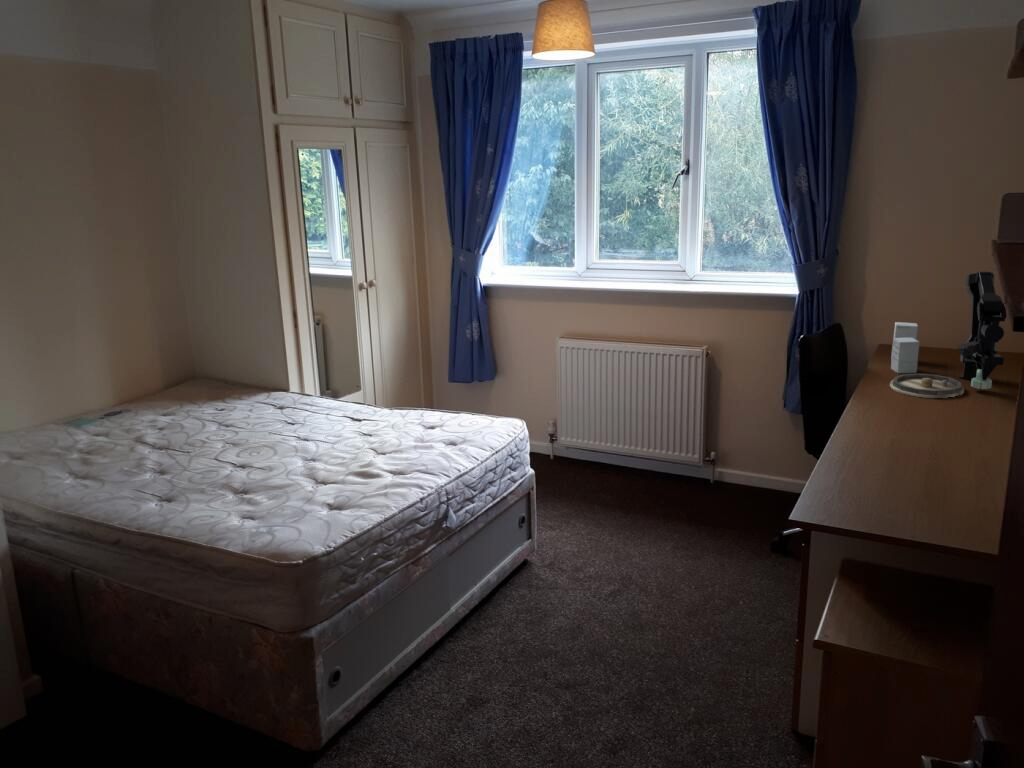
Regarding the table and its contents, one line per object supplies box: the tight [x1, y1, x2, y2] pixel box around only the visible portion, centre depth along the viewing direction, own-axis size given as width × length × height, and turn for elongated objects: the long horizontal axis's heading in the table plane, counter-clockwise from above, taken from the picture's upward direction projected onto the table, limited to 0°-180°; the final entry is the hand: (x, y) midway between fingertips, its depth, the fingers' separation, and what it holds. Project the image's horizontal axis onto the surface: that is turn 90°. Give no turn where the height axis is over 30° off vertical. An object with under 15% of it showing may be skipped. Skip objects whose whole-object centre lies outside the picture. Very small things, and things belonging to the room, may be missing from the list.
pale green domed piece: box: [970, 369, 993, 390], centre depth 280 cm, size 6×6×6 cm
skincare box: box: [890, 321, 919, 361], centre depth 321 cm, size 8×7×16 cm
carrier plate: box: [889, 373, 965, 399], centre depth 287 cm, size 24×24×4 cm
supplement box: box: [890, 337, 920, 374], centre depth 309 cm, size 7×7×13 cm
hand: (981, 378), depth 280 cm, fingers closed on pale green domed piece, 4 cm apart
